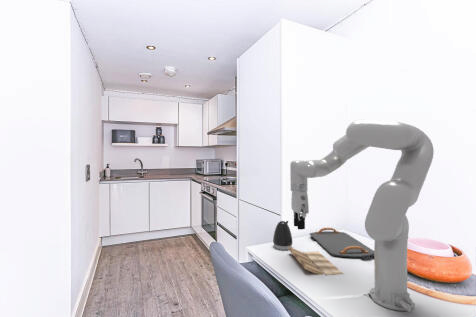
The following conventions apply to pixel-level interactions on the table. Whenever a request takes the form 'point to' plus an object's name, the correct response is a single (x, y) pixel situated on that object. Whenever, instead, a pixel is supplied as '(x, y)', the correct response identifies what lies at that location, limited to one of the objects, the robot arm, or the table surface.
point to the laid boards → (323, 263)
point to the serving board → (341, 244)
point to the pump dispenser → (282, 236)
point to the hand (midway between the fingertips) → (299, 227)
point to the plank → (305, 261)
